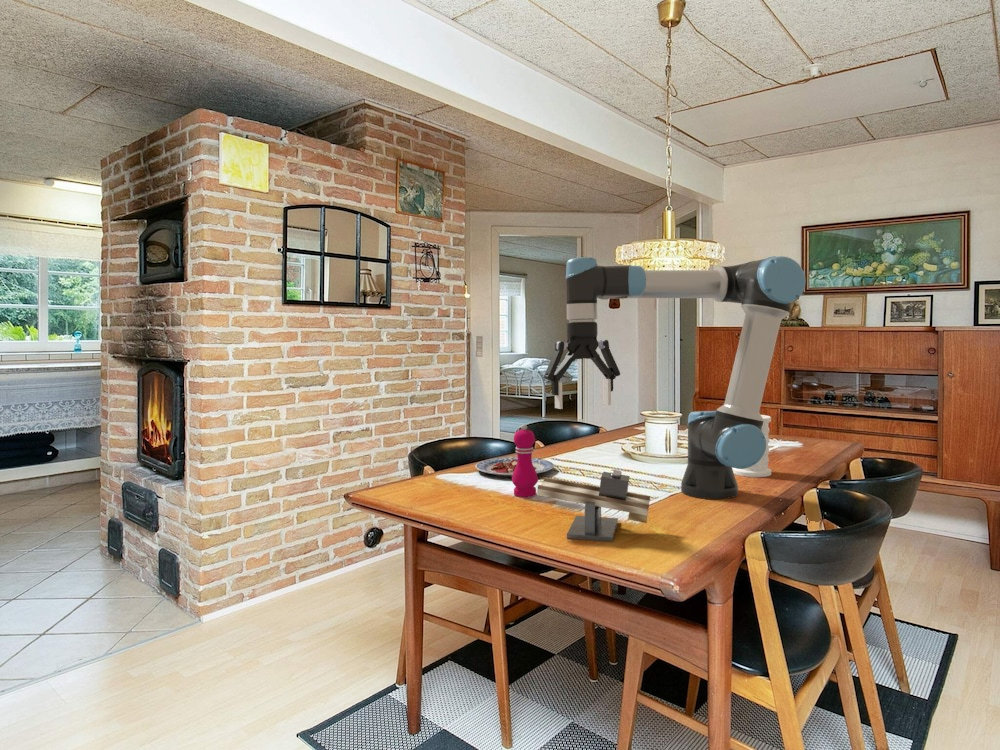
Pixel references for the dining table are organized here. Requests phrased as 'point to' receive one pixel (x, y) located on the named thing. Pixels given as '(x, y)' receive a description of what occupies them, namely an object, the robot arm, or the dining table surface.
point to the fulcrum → (593, 525)
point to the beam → (595, 497)
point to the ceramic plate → (510, 466)
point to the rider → (614, 485)
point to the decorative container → (762, 466)
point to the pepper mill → (524, 464)
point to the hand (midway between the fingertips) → (583, 406)
